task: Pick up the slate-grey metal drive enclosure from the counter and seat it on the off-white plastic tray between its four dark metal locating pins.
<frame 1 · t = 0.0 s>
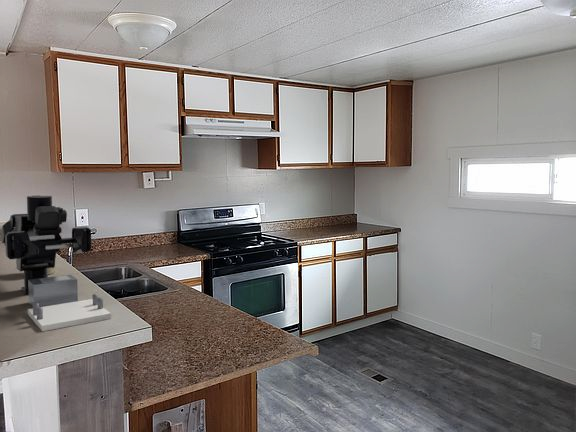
hand: (59, 249, 109), 16 cm above the countertop, tool horizontal, fingers open, 9 cm apart
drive: (53, 302, 120), on the countertop
tray: (69, 316, 110), on the countertop
flower pot: (43, 274, 150), on the countertop, touching arm
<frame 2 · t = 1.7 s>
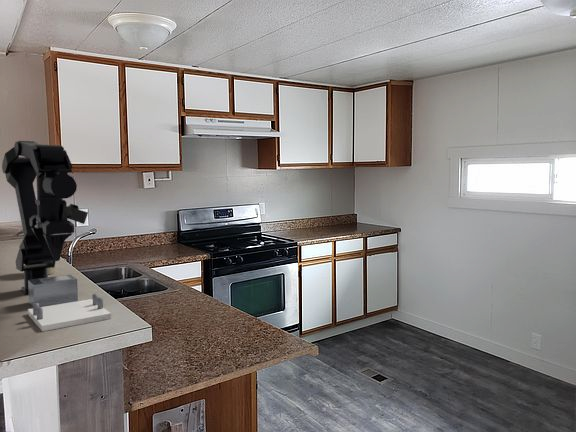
hand: (52, 257, 119), 11 cm above the countertop, tool pointing down, fingers open, 9 cm apart
flower pot: (43, 274, 150), on the countertop
everything else where it was.
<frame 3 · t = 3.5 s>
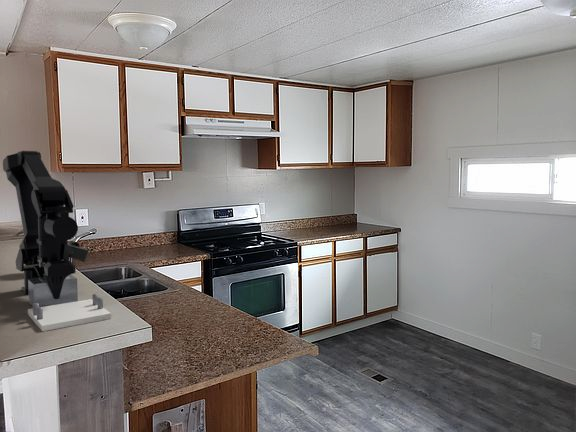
hand: (53, 296, 120), 2 cm above the countertop, tool pointing down, fingers closed on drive, 6 cm apart
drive: (53, 301, 120), on the countertop, touching gripper
everything else where it was.
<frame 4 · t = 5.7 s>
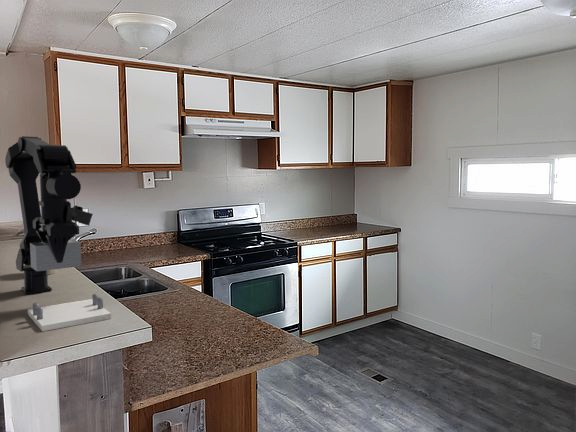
hand: (56, 260, 116), 11 cm above the countertop, tool pointing down, fingers closed on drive, 6 cm apart
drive: (56, 266, 116), point 10 cm above the countertop, touching gripper
everything else where it was.
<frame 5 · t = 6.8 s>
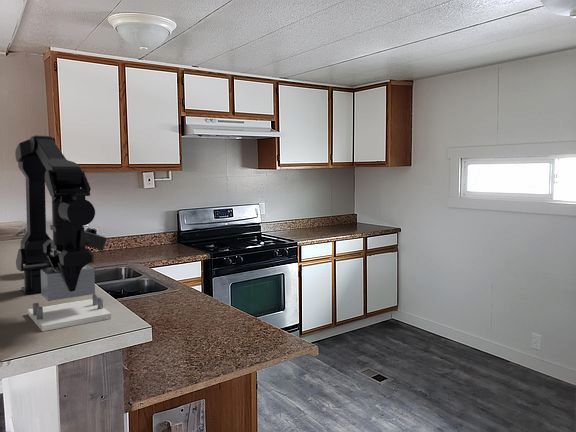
hand: (68, 288, 109), 7 cm above the countertop, tool pointing down, fingers closed on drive, 6 cm apart
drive: (68, 294, 109), point 5 cm above the countertop, touching gripper
everything else where it was.
when the fingers open (4 cm above the countertop, at t = 7.8 s): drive stays where it is, resting on tray.
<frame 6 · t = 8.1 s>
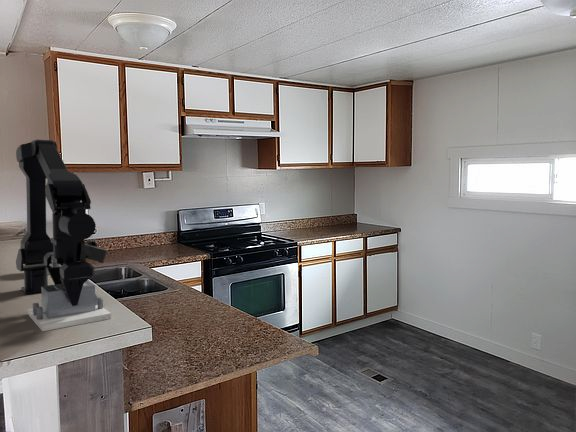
hand: (68, 300, 109), 4 cm above the countertop, tool pointing down, fingers open, 9 cm apart
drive: (69, 311, 109), point 1 cm above the countertop, touching tray
everything else where it was.
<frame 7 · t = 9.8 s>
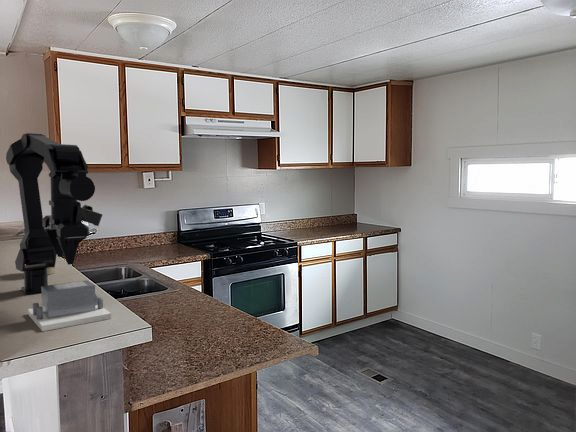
hand: (65, 260, 116), 11 cm above the countertop, tool pointing down, fingers open, 9 cm apart
nothing on the countertop moved.
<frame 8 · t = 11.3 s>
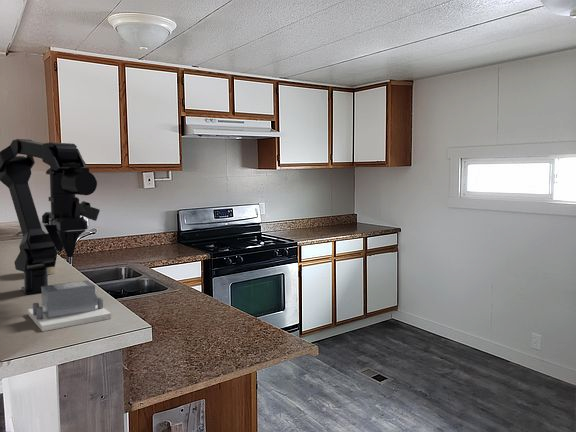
hand: (64, 254, 121), 12 cm above the countertop, tool pointing down, fingers open, 9 cm apart
nothing on the countertop moved.
at the end: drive 0.0 cm off-centre on the tray, point 1.2 cm above the tray's base; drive tilted 0°; the gripper is holding nothing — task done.
